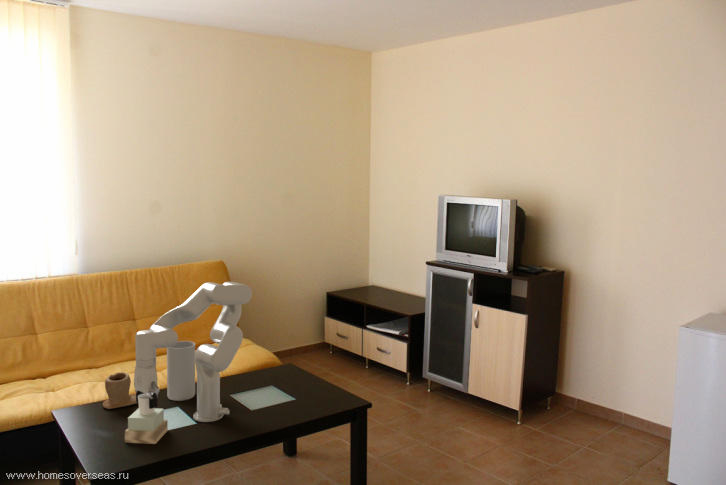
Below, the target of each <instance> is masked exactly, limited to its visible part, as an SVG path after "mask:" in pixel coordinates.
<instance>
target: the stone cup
mask: <svg viewBox="0 0 726 485" xmlns="http://www.w3.org/2000/svg"><path fill="white" fill-rule="evenodd" d="M104 380H105V381H104V388H105V392H106V394H107V397H108V399H106V400H104V401H103V402H102V406H103V408H105V409H108V410H110V409H112V410H113V409H118V408H122V407H127V406H131V405H135V404H138V402H136V393H133V394H130V388H131V382H132V381H131V377H130V375H129V373H127V372H124V371H122V372H121V371H120V372H116V373H113V374H110V375H108V376H107V377H106V378H105V379H104Z"/></svg>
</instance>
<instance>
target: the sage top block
mask: <svg viewBox="0 0 726 485" xmlns="http://www.w3.org/2000/svg"><path fill="white" fill-rule="evenodd" d="M164 411H165V410H164V408H158V407H155V412H154V413H153V414H150V415H141V414H140V413H139V407H138V408H137V409H136V410H135V411H134V412H133V413H132V414H130V415H129V416H128V417H127V429H128V430H134V431H155V429H156V428H157V427H158V426H159V425H160V424H161V423H162V422H163V421H164V420H165V419H164Z"/></svg>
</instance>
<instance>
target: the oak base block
mask: <svg viewBox="0 0 726 485" xmlns="http://www.w3.org/2000/svg"><path fill="white" fill-rule="evenodd" d="M168 423H169V422H168V419H164V421H163V422H162V423H161V424H160V425H159V426H158V427H157V428H156V429H155V431H134V430H128V428H126V429H125V430H124V443H127V444H128V443H129V444H146V445H147V444H149V445H151V444H152V445H155V444H157V443H158V441H160V440H161V438H163V436H164V435H165V434H166V433H167V432H168V426H169V424H168Z"/></svg>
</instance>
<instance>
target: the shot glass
mask: <svg viewBox="0 0 726 485" xmlns="http://www.w3.org/2000/svg"><path fill="white" fill-rule="evenodd" d="M153 393H154V392H152V393H151V394H152V395H153ZM149 399H150V397H149V394H148V393H147V394H145V393H142V394H140V395H138V402H137V404H138V408H139V413H140V414H141V415H150V414H153V413H154V412H155V408H156V407H155V408H152V409H150V408H149Z"/></svg>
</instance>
